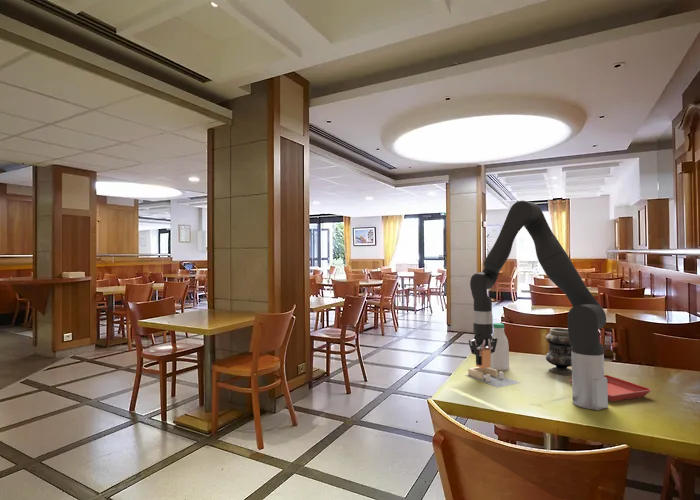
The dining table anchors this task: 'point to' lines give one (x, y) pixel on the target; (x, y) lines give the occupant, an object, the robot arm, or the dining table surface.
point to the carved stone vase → (559, 351)
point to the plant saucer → (623, 389)
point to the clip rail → (490, 376)
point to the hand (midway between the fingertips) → (483, 363)
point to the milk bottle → (500, 349)
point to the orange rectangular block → (485, 359)
